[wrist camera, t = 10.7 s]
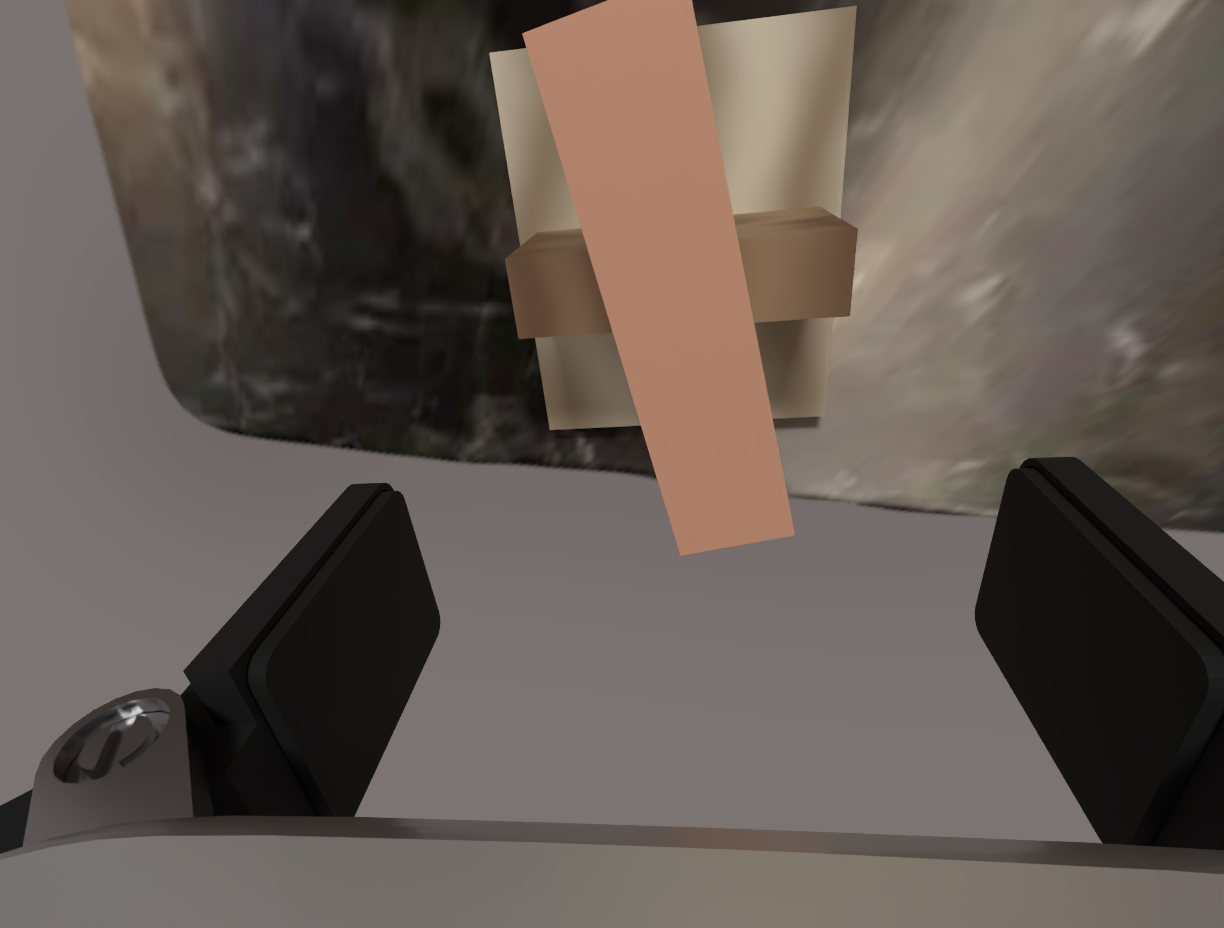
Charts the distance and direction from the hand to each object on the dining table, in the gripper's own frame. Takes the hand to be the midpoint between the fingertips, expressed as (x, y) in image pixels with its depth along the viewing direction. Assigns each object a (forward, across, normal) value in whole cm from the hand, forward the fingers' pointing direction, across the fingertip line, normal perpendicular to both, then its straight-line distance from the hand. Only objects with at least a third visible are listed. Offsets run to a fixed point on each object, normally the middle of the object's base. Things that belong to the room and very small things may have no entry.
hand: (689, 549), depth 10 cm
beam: (+18, 0, 0) cm, 18 cm away
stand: (+26, 0, 0) cm, 26 cm away
